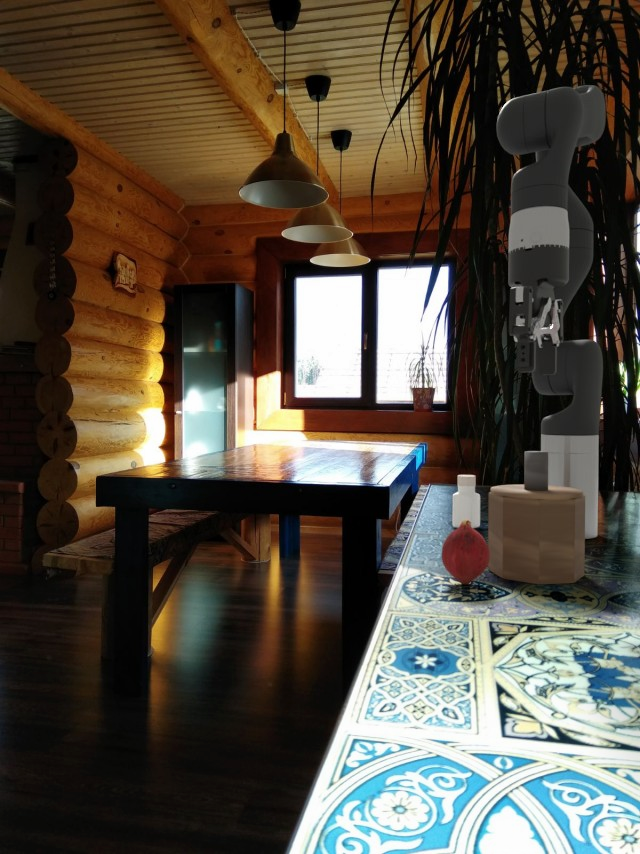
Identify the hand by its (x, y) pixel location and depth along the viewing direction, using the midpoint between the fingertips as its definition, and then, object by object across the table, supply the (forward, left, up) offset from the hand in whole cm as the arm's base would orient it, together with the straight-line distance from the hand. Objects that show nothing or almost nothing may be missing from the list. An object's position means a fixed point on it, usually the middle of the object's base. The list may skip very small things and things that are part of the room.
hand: (537, 373), depth 85 cm
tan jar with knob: (0, 0, -26) cm, 26 cm away
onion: (+11, -5, -26) cm, 29 cm away
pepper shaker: (-25, -21, -27) cm, 42 cm away
